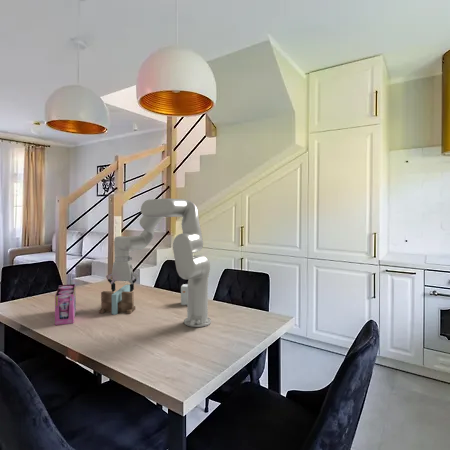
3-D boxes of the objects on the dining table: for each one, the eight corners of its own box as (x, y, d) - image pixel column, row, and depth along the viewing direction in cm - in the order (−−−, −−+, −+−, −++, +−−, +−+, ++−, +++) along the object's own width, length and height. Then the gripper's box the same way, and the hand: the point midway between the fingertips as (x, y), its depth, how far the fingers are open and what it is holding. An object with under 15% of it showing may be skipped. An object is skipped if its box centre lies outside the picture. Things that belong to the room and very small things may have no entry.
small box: (196, 302, 184) (197, 284, 183) (195, 305, 178) (195, 286, 178) (183, 302, 185) (183, 283, 184) (180, 305, 179) (180, 286, 179)
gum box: (73, 324, 148) (73, 295, 147) (54, 326, 145) (53, 296, 144) (76, 309, 170) (75, 283, 170) (59, 311, 167) (58, 285, 166)
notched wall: (135, 309, 171) (135, 290, 171) (130, 313, 163) (130, 294, 163) (105, 308, 172) (105, 289, 171) (99, 313, 164) (98, 293, 163)
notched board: (116, 314, 162) (116, 294, 162) (111, 314, 162) (111, 294, 162) (130, 302, 184) (130, 284, 184) (126, 301, 184) (125, 284, 184)
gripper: (140, 258, 177) (140, 289, 177) (108, 258, 177) (109, 289, 178) (136, 260, 169) (136, 292, 170) (103, 260, 169) (103, 293, 170)
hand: (122, 291), depth 174 cm, fingers open, 9 cm apart
